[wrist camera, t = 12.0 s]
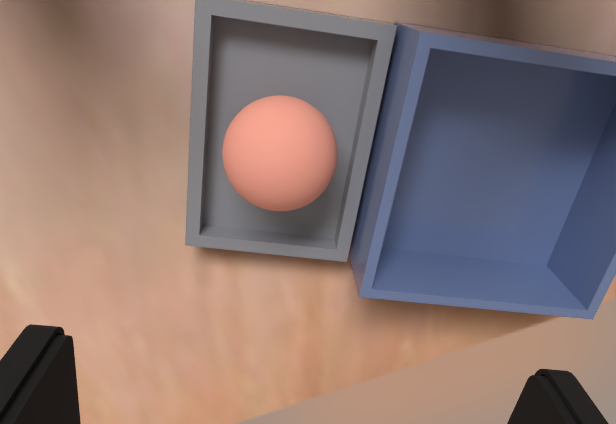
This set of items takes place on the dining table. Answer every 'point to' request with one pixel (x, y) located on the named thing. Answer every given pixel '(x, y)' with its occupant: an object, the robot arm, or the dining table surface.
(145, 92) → the dining table surface
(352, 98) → the tray
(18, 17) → the dining table surface
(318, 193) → the ball
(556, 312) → the blue storage bin
